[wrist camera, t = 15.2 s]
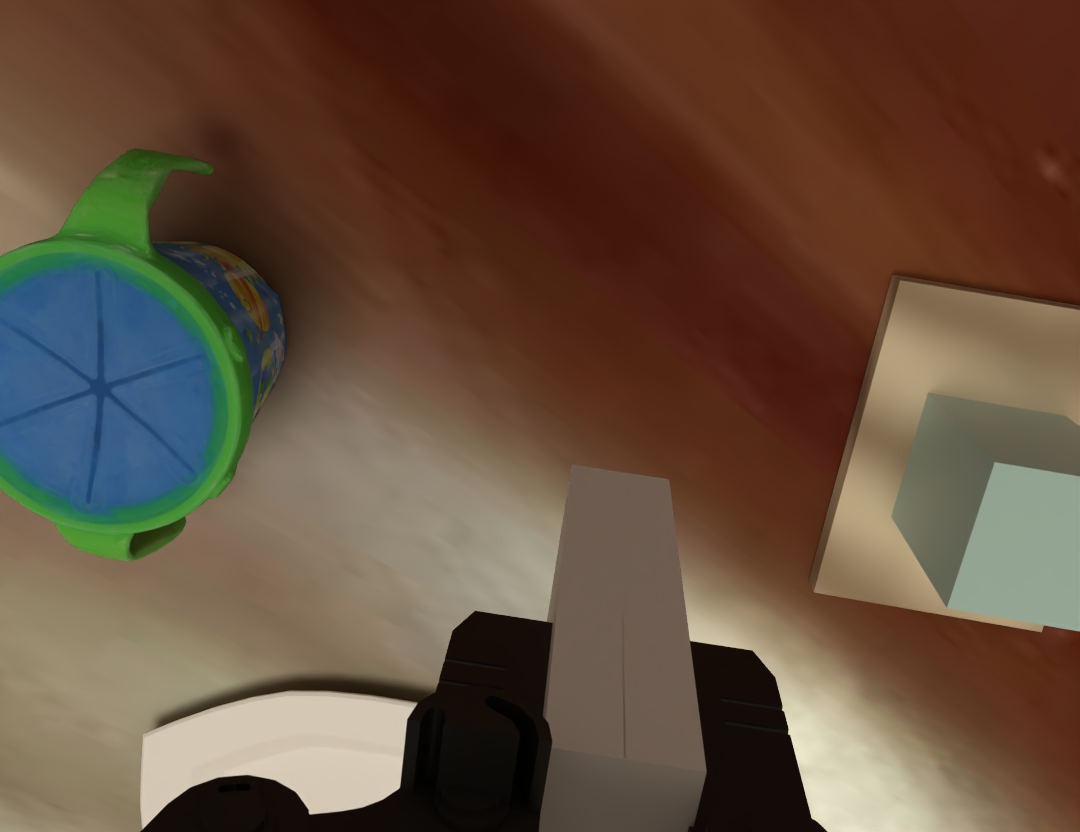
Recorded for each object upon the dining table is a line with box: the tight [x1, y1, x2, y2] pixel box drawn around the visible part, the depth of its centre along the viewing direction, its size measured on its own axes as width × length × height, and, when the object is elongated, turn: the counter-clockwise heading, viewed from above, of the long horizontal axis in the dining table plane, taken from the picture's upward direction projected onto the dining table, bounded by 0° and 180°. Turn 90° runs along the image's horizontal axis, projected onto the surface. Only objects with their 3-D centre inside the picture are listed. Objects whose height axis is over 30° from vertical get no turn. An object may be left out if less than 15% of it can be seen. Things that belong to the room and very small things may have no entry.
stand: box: [809, 275, 1080, 632], centre depth 39 cm, size 14×10×7 cm
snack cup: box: [0, 149, 286, 561], centre depth 38 cm, size 16×10×10 cm
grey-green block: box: [891, 393, 1080, 631], centre depth 38 cm, size 6×6×8 cm
